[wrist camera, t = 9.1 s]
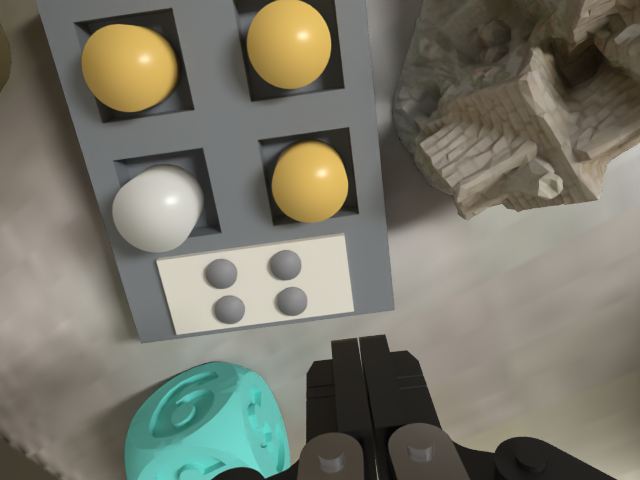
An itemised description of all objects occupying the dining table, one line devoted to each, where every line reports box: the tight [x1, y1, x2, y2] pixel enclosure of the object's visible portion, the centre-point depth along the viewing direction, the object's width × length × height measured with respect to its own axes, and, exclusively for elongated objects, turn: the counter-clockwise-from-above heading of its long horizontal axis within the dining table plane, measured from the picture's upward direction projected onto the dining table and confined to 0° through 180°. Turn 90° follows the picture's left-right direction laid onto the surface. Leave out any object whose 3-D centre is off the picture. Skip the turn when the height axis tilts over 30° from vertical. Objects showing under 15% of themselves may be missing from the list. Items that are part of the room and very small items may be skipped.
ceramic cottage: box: [393, 0, 640, 221], centre depth 23 cm, size 16×16×15 cm
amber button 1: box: [82, 24, 181, 112], centre depth 26 cm, size 4×4×3 cm
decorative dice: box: [125, 362, 290, 480], centre depth 34 cm, size 8×8×8 cm
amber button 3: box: [272, 138, 348, 223], centre depth 28 cm, size 4×4×3 cm
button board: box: [36, 0, 395, 343], centre depth 29 cm, size 20×16×4 cm
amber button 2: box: [247, 0, 331, 89], centre depth 26 cm, size 4×4×3 cm
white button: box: [112, 164, 204, 253], centre depth 27 cm, size 4×4×3 cm
